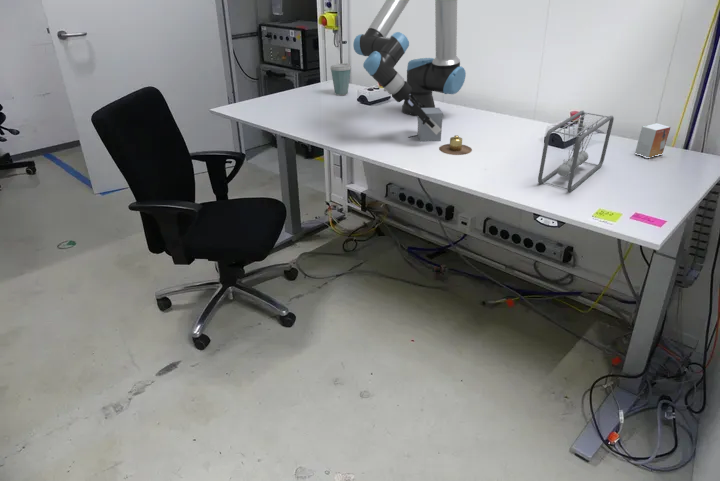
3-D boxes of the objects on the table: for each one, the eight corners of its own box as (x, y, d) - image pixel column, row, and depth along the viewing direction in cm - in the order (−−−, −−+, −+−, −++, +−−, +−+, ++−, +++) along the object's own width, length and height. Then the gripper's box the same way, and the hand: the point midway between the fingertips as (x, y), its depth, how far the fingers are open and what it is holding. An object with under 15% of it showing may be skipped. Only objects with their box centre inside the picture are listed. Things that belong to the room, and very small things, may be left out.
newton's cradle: (569, 194, 154) (581, 137, 145) (536, 185, 160) (546, 130, 151) (602, 165, 174) (615, 114, 165) (572, 158, 180) (582, 108, 171)
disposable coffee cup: (329, 96, 259) (327, 66, 252) (333, 91, 268) (332, 61, 261) (349, 97, 258) (348, 66, 250) (353, 91, 267) (352, 62, 259)
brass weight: (455, 146, 190) (457, 133, 188) (463, 149, 187) (465, 136, 185) (446, 148, 188) (447, 135, 186) (454, 152, 185) (456, 138, 183)
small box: (647, 159, 178) (656, 130, 173) (633, 154, 182) (641, 126, 177) (662, 155, 181) (671, 126, 176) (648, 150, 186) (656, 122, 180)
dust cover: (417, 135, 203) (418, 108, 197) (437, 134, 203) (439, 107, 197) (420, 142, 196) (421, 113, 190) (440, 141, 196) (442, 113, 190)
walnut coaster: (456, 143, 195) (456, 141, 195) (478, 152, 186) (478, 150, 186) (432, 149, 190) (432, 147, 189) (453, 158, 181) (453, 157, 181)
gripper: (387, 87, 201) (424, 124, 209) (393, 103, 180) (433, 144, 188) (401, 73, 198) (437, 111, 206) (409, 88, 177) (449, 129, 185)
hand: (435, 126), depth 197 cm, fingers open, 12 cm apart
